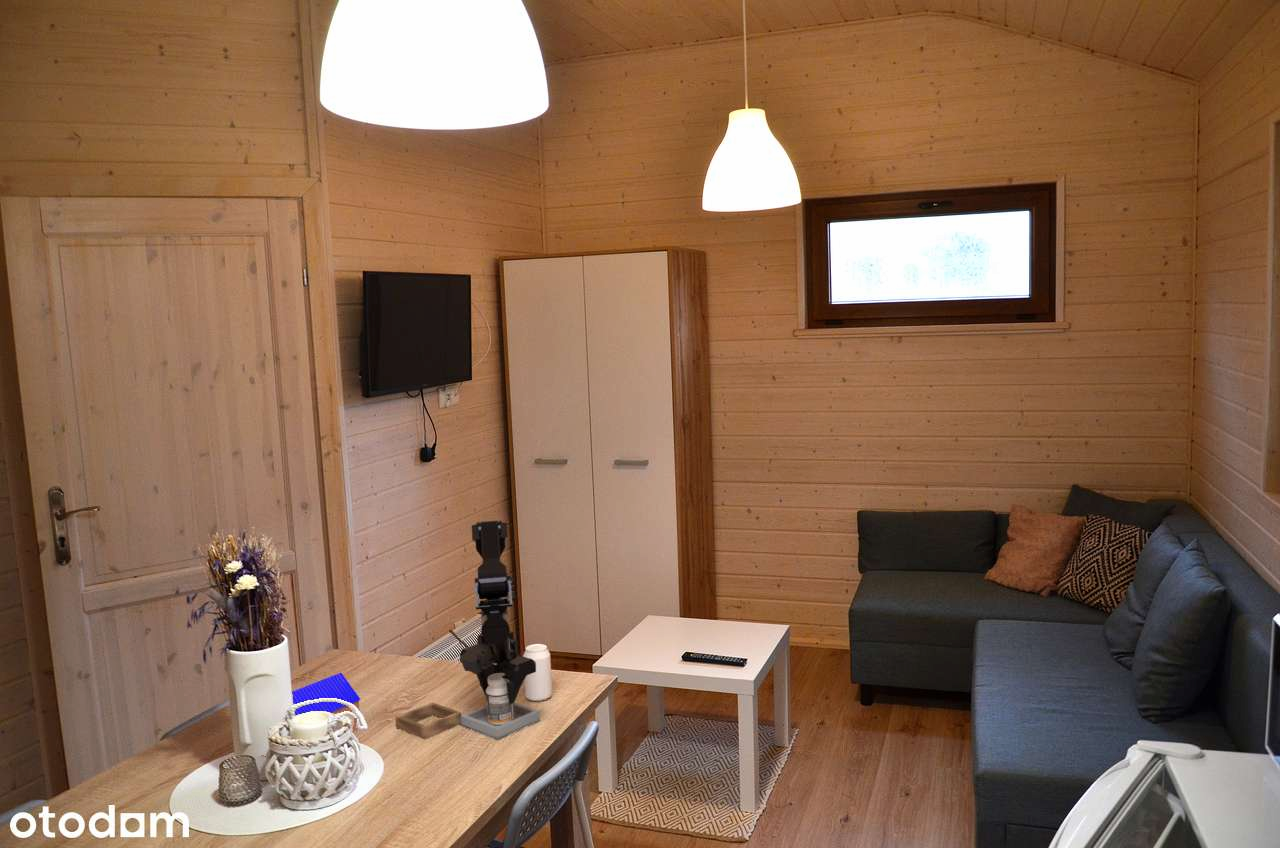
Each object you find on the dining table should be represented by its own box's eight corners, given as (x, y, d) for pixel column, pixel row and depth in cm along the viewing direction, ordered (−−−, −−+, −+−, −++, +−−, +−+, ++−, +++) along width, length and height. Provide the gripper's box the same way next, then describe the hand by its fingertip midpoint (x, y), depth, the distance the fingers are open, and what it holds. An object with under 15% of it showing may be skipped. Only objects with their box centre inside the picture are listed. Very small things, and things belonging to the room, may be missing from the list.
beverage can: (553, 692, 231) (550, 642, 230) (551, 702, 225) (548, 651, 224) (526, 693, 231) (523, 643, 230) (524, 703, 225) (521, 652, 224)
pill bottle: (491, 715, 218) (488, 671, 216) (517, 715, 217) (514, 671, 216) (484, 726, 212) (481, 681, 211) (511, 726, 211) (508, 681, 210)
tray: (503, 708, 223) (502, 698, 223) (540, 721, 215) (539, 710, 215) (461, 726, 214) (460, 716, 214) (498, 740, 206) (497, 729, 206)
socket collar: (433, 713, 222) (432, 702, 222) (462, 723, 215) (461, 712, 215) (396, 728, 214) (395, 717, 214) (424, 739, 208) (423, 728, 207)
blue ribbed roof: (363, 729, 215) (359, 677, 214) (284, 765, 199) (279, 709, 198) (327, 718, 222) (323, 667, 221) (248, 752, 206) (243, 698, 204)
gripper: (437, 631, 212) (442, 701, 214) (495, 647, 200) (499, 722, 202) (478, 617, 221) (482, 685, 222) (535, 633, 208) (539, 704, 210)
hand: (499, 699), depth 214 cm, fingers open, 8 cm apart
